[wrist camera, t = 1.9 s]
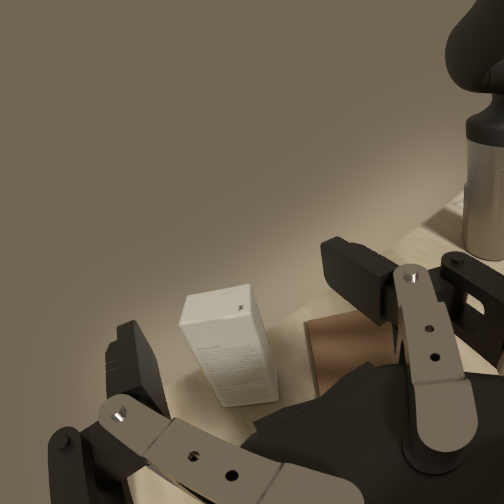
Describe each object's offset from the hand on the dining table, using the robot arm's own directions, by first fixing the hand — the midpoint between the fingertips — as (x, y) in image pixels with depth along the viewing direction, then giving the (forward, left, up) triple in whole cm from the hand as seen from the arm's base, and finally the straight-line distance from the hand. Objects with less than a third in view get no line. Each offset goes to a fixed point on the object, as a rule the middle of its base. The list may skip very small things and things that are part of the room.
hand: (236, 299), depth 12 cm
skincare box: (-10, -4, -20) cm, 23 cm away
